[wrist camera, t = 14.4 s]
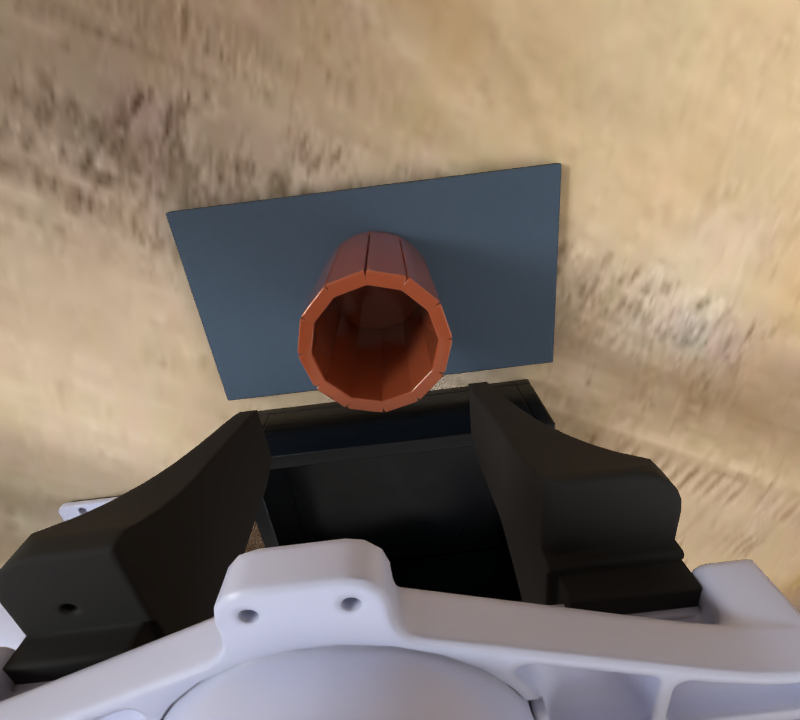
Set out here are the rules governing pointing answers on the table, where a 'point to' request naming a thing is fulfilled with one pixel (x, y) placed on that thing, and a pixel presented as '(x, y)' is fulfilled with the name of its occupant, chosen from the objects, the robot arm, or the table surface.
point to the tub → (394, 488)
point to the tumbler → (374, 325)
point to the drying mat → (390, 212)
